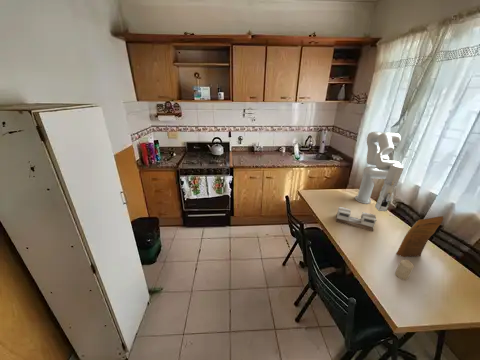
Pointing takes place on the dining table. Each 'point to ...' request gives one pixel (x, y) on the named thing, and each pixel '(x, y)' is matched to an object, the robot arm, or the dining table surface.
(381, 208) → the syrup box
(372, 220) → the rail board
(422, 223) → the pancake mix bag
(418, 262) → the dining table surface
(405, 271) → the candle
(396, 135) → the robot arm
